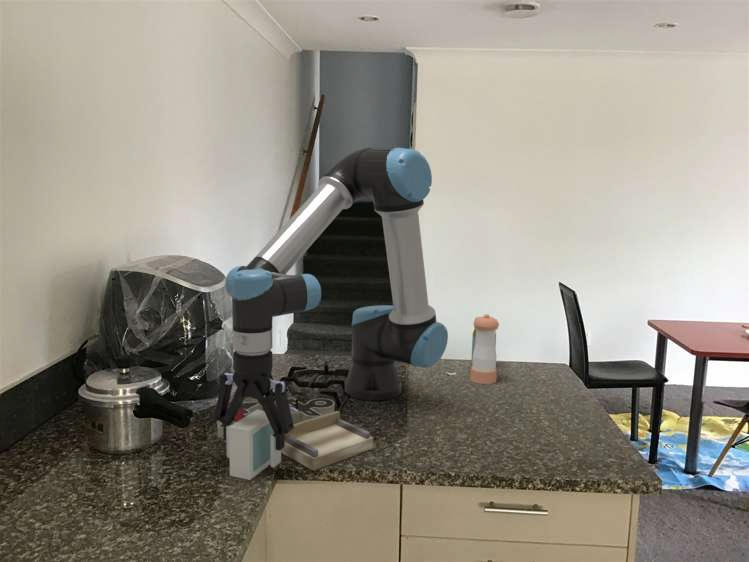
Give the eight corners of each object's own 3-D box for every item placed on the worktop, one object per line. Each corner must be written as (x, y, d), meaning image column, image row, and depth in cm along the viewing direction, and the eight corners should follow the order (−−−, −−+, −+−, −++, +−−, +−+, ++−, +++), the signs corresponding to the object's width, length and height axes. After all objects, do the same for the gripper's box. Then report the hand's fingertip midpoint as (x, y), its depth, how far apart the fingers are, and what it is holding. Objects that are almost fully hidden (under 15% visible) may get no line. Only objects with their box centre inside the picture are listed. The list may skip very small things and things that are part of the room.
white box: (229, 475, 128) (229, 426, 127) (257, 455, 138) (257, 409, 136) (250, 480, 127) (249, 430, 125) (276, 459, 136) (276, 413, 134)
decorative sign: (198, 411, 155) (308, 387, 172) (198, 423, 155) (308, 398, 173) (239, 443, 137) (358, 414, 155) (239, 457, 138) (358, 425, 155)
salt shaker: (470, 375, 194) (473, 311, 191) (495, 377, 193) (499, 312, 190) (470, 383, 187) (473, 316, 183) (496, 385, 186) (500, 318, 182)
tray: (278, 451, 140) (278, 428, 139) (336, 431, 151) (337, 410, 150) (313, 470, 131) (313, 446, 130) (373, 448, 142) (373, 426, 141)
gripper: (193, 348, 129) (196, 457, 133) (293, 362, 121) (293, 478, 124) (216, 339, 136) (218, 443, 139) (312, 352, 128) (312, 462, 131)
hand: (253, 459), depth 132 cm, fingers open, 9 cm apart
